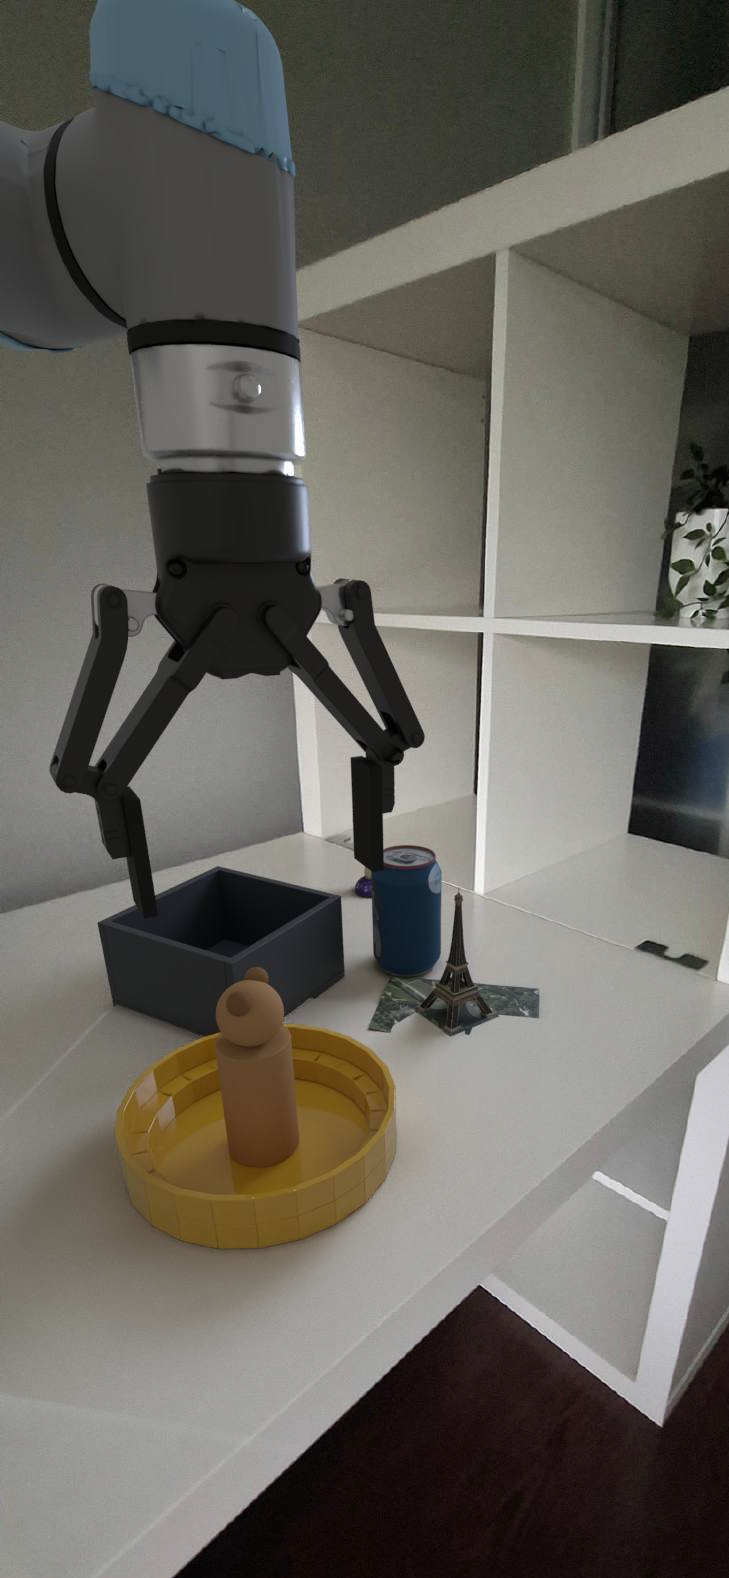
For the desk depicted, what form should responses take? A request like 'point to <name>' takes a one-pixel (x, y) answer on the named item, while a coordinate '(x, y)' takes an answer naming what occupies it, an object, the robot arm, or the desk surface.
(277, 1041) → the toy bear
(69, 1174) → the desk surface
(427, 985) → the eiffel tower figurine
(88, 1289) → the desk surface
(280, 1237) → the bowl
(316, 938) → the bin
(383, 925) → the soda can
